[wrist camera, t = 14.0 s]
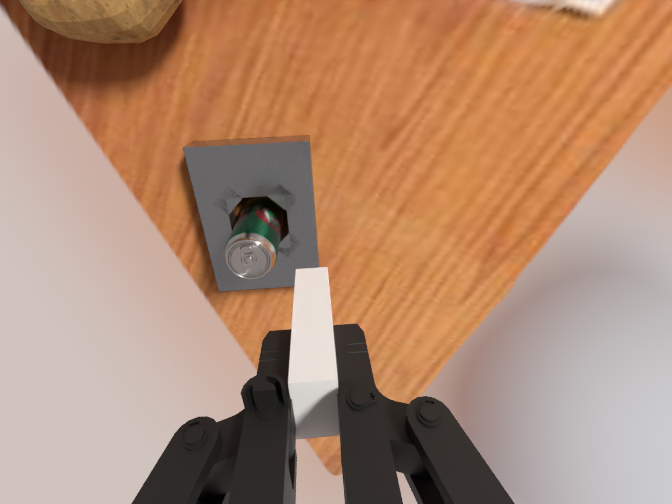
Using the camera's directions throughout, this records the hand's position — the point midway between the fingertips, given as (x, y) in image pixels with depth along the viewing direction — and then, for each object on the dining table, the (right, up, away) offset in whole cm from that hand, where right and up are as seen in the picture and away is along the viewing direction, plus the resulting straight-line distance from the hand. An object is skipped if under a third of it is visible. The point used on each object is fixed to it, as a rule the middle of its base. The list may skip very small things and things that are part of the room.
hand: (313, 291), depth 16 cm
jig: (-8, +7, +26) cm, 28 cm away
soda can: (-8, +7, +26) cm, 28 cm away
